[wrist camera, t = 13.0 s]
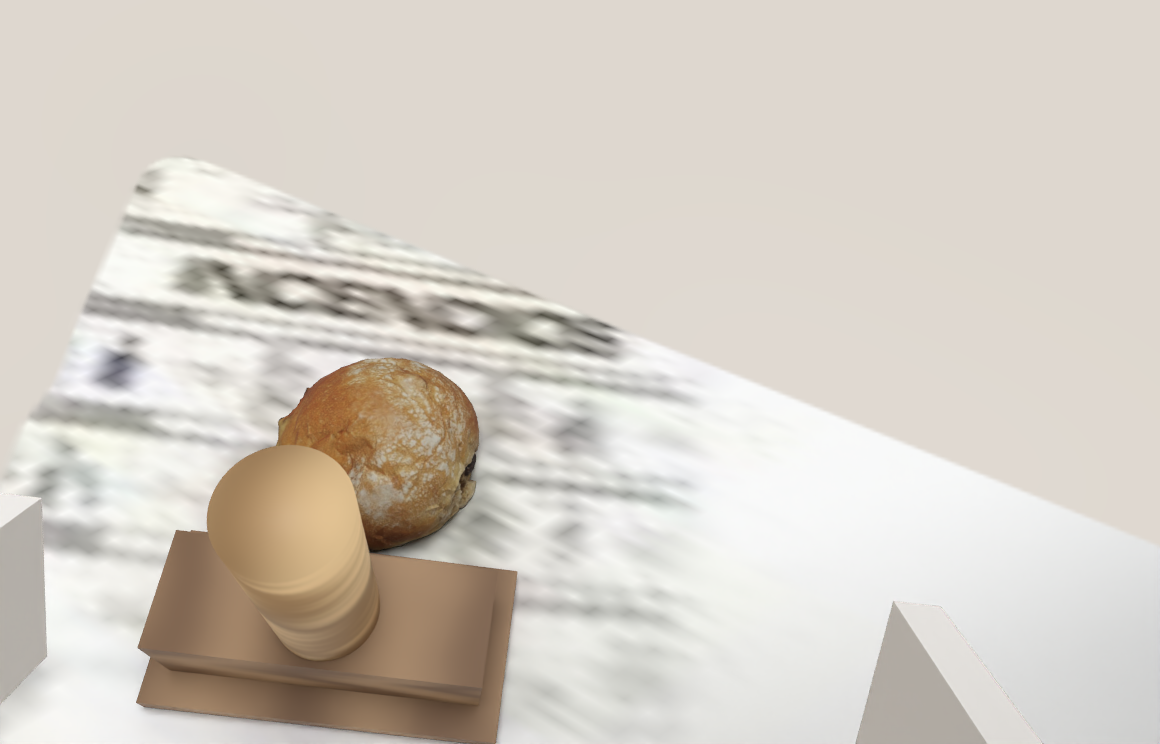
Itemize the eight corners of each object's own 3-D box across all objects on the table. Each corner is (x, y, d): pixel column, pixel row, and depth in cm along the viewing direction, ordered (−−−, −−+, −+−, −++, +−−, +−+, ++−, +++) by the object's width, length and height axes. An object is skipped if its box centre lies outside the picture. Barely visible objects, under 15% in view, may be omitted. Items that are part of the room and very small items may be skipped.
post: (388, 563, 39) (369, 454, 29) (369, 667, 37) (340, 590, 26) (287, 551, 39) (229, 436, 28) (261, 655, 36) (187, 572, 26)
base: (515, 578, 45) (524, 541, 40) (494, 746, 41) (501, 729, 36) (196, 537, 44) (163, 494, 39) (144, 706, 40) (99, 683, 35)
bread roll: (430, 580, 48) (500, 545, 43) (240, 539, 44) (288, 492, 38) (453, 418, 53) (518, 365, 47) (283, 365, 49) (332, 300, 43)
